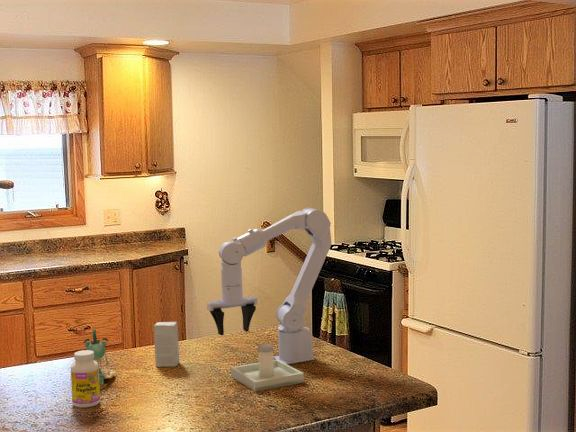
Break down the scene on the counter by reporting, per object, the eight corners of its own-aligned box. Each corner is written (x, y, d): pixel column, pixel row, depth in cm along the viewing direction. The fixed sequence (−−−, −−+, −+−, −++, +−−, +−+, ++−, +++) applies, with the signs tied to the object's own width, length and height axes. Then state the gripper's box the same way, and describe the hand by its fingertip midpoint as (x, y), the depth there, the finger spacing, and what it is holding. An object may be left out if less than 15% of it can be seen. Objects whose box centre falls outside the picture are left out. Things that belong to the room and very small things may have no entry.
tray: (277, 368, 218) (277, 359, 218) (303, 382, 205) (303, 373, 204) (231, 376, 212) (230, 367, 211) (255, 391, 198) (254, 382, 198)
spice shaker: (267, 371, 211) (266, 342, 210) (277, 375, 208) (276, 346, 207) (255, 375, 208) (254, 346, 207) (265, 379, 205) (264, 349, 204)
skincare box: (179, 362, 226) (178, 321, 225) (176, 367, 222) (174, 325, 220) (159, 362, 227) (157, 321, 225) (155, 366, 222) (153, 325, 221)
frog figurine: (73, 392, 202) (70, 334, 202) (83, 378, 220) (80, 325, 220) (111, 389, 203) (108, 332, 204) (118, 375, 221) (115, 323, 221)
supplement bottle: (72, 410, 189) (69, 357, 187) (72, 401, 195) (69, 350, 194) (101, 406, 190) (98, 354, 189) (99, 398, 197) (97, 347, 195)
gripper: (249, 279, 226) (250, 326, 228) (202, 285, 220) (204, 333, 221) (260, 283, 220) (261, 331, 221) (211, 289, 213) (213, 338, 215)
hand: (233, 332), depth 221 cm, fingers open, 7 cm apart
